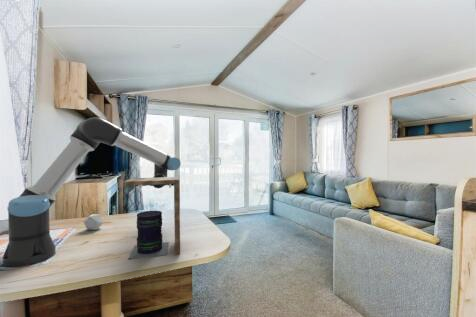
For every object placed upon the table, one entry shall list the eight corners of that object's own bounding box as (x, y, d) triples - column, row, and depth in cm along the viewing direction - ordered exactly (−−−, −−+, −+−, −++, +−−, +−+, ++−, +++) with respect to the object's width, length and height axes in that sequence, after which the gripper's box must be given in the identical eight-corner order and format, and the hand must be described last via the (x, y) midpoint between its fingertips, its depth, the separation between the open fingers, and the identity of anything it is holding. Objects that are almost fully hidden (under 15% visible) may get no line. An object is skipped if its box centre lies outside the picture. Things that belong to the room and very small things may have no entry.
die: (86, 228, 125) (78, 217, 119) (102, 218, 130) (94, 207, 124) (92, 237, 121) (84, 226, 115) (108, 226, 126) (101, 215, 120)
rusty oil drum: (132, 255, 89) (132, 216, 89) (141, 245, 99) (141, 210, 98) (158, 254, 89) (158, 216, 89) (165, 244, 99) (164, 210, 99)
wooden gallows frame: (125, 260, 85) (124, 181, 85) (132, 246, 99) (131, 178, 98) (180, 254, 90) (179, 179, 90) (180, 241, 104) (179, 176, 103)
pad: (128, 259, 86) (128, 258, 86) (134, 246, 98) (134, 245, 98) (167, 255, 89) (166, 254, 89) (168, 242, 102) (168, 242, 102)
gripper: (181, 187, 131) (182, 192, 111) (135, 188, 125) (126, 193, 105) (182, 174, 132) (182, 176, 111) (135, 174, 125) (126, 177, 105)
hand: (155, 185), depth 108 cm, fingers open, 13 cm apart
